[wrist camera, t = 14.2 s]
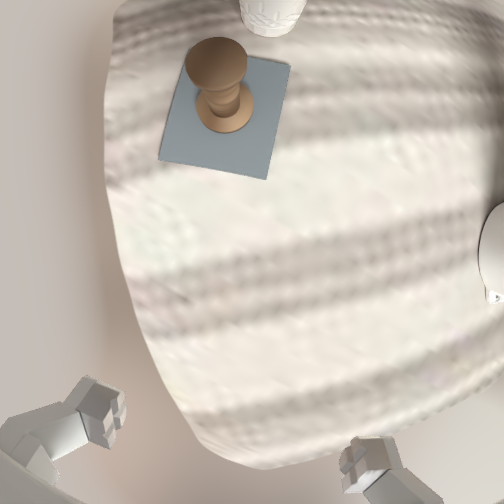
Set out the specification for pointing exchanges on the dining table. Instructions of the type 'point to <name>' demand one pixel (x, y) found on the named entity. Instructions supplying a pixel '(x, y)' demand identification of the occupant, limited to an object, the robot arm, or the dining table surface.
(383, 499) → the robot arm
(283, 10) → the white cup
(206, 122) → the brown post
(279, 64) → the gray book
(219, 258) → the dining table surface
